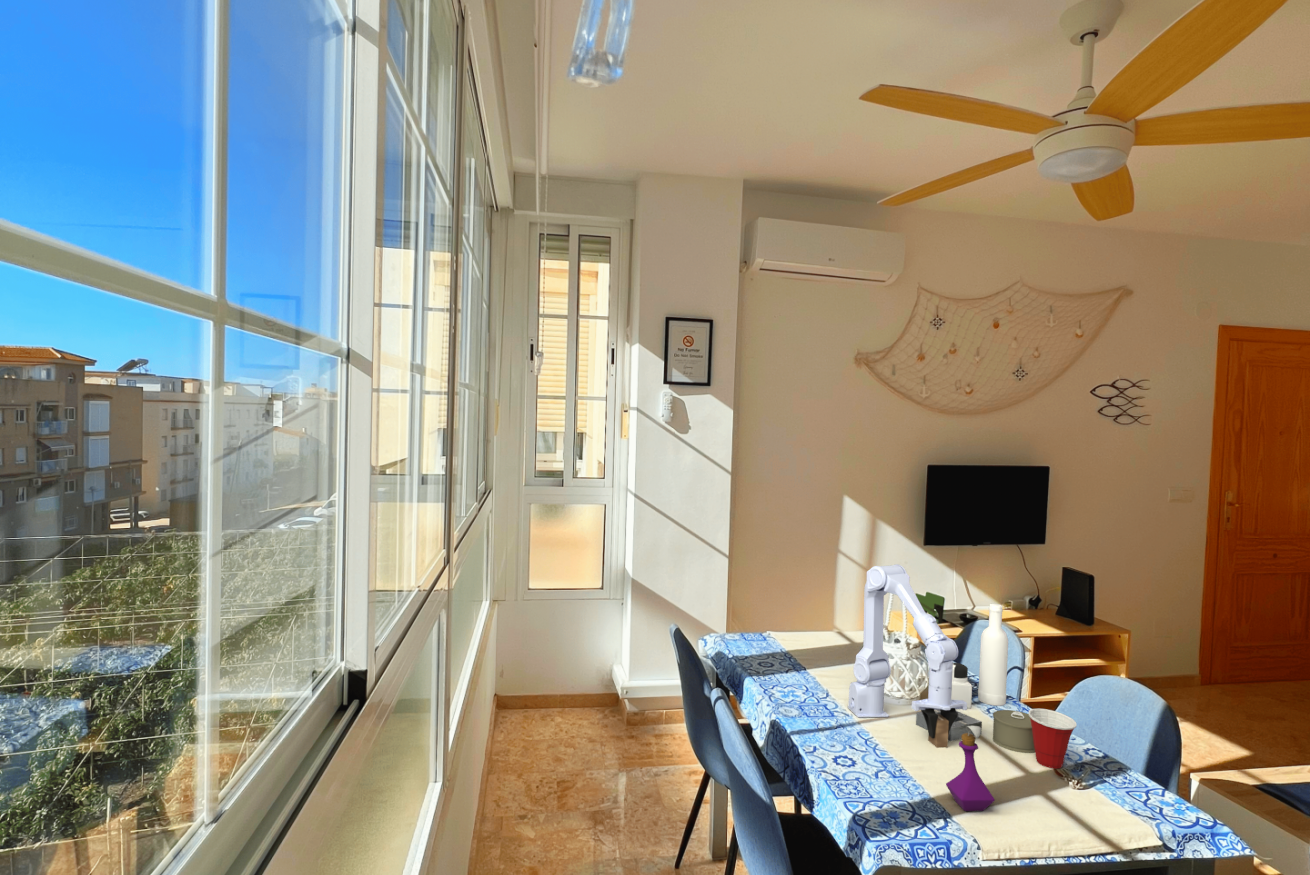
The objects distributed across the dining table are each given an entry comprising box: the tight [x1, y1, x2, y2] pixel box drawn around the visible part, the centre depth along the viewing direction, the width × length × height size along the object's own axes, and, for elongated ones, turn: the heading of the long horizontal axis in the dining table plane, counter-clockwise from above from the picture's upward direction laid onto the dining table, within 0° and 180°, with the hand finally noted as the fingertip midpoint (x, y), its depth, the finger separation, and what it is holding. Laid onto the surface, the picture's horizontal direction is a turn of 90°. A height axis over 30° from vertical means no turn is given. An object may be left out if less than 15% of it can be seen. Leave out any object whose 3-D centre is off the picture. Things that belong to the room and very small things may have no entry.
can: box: [992, 709, 1035, 754], centre depth 199 cm, size 12×12×7 cm
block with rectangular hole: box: [915, 710, 983, 742], centre depth 207 cm, size 12×12×4 cm
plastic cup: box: [1028, 708, 1078, 769], centre depth 187 cm, size 11×11×12 cm
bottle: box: [977, 603, 1009, 707], centre depth 231 cm, size 8×8×30 cm
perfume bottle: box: [945, 726, 996, 812], centre depth 164 cm, size 8×8×18 cm
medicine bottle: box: [951, 662, 973, 709], centre depth 228 cm, size 7×7×12 cm
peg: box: [927, 714, 949, 749], centre depth 197 cm, size 3×4×7 cm, turn 8°
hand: (938, 736), depth 197 cm, fingers closed on peg, 3 cm apart
